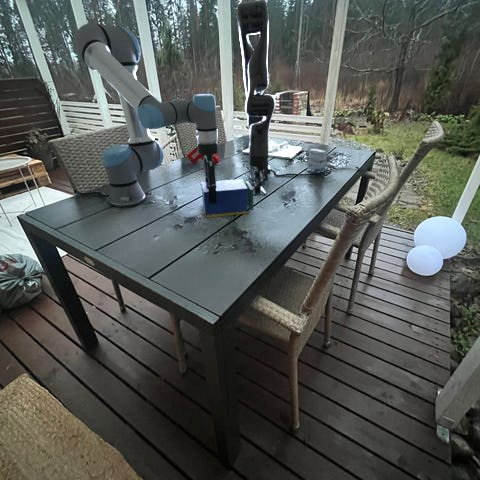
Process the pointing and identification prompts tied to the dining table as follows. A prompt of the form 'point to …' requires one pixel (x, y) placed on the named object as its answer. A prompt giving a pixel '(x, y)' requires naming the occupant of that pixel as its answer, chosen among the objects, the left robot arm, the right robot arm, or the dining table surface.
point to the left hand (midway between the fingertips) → (211, 197)
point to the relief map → (281, 150)
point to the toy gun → (200, 156)
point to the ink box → (316, 160)
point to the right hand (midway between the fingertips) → (257, 194)
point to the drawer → (252, 194)
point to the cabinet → (226, 198)
